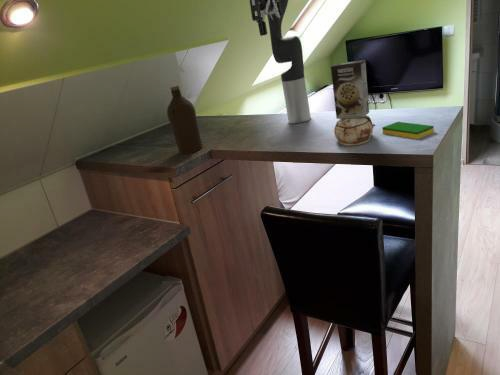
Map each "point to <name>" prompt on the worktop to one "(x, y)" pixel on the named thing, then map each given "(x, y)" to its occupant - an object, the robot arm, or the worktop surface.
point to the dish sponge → (408, 130)
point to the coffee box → (350, 89)
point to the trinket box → (353, 130)
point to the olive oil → (184, 123)
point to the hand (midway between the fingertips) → (270, 33)
